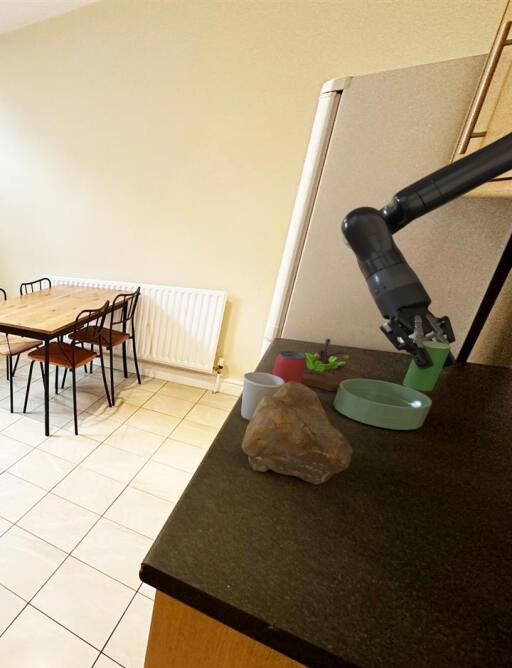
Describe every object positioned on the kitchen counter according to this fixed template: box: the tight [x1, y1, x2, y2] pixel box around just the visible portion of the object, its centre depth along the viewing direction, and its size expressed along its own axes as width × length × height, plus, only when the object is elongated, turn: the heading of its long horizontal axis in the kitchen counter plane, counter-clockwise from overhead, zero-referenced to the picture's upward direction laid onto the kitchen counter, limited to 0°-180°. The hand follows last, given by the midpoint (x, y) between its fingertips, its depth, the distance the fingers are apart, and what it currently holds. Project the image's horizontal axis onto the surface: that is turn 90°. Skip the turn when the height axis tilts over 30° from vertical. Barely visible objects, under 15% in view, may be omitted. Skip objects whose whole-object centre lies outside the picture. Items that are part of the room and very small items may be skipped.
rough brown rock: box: [241, 381, 354, 485], centre depth 79 cm, size 23×17×15 cm
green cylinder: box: [402, 340, 452, 392], centre depth 81 cm, size 4×4×9 cm
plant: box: [301, 338, 363, 393], centre depth 118 cm, size 20×20×11 cm
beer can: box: [271, 350, 307, 387], centre depth 107 cm, size 7×7×12 cm
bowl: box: [333, 378, 433, 431], centre depth 98 cm, size 16×16×6 cm
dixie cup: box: [240, 371, 285, 421], centre depth 98 cm, size 8×8×10 cm
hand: (438, 366), depth 79 cm, fingers closed on green cylinder, 4 cm apart
